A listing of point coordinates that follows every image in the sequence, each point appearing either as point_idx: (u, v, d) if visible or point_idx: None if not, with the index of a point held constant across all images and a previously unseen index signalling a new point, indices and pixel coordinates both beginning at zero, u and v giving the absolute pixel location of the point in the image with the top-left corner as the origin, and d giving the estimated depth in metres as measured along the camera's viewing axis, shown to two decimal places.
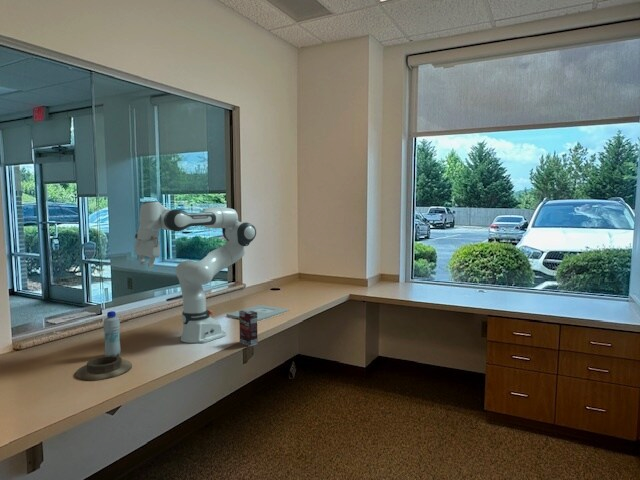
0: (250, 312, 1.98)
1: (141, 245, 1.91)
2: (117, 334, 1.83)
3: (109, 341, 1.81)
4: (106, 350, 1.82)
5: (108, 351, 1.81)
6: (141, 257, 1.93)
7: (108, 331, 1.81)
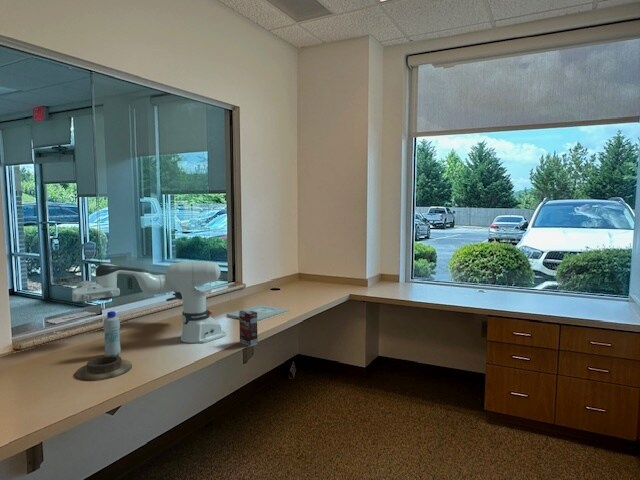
0: (250, 312, 1.98)
1: (87, 291, 1.97)
2: (117, 334, 1.83)
3: (109, 341, 1.81)
4: (106, 350, 1.82)
5: (108, 351, 1.81)
6: None
7: (108, 331, 1.81)
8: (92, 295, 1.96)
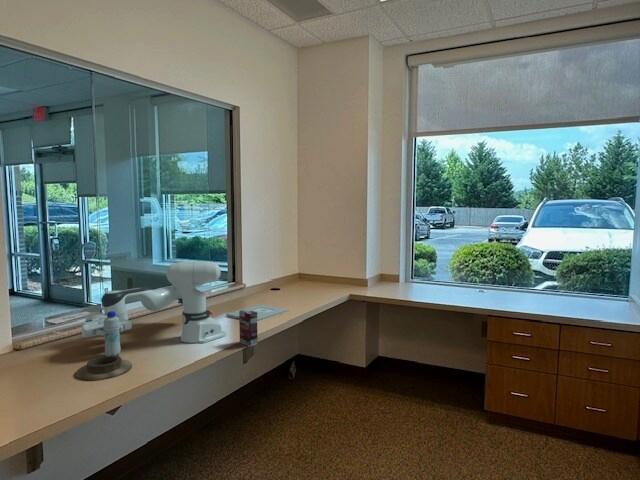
0: (250, 312, 1.98)
1: (97, 325, 1.87)
2: (117, 334, 1.83)
3: (109, 341, 1.81)
4: (106, 350, 1.82)
5: (108, 351, 1.81)
6: None
7: (108, 331, 1.81)
8: (103, 330, 1.86)
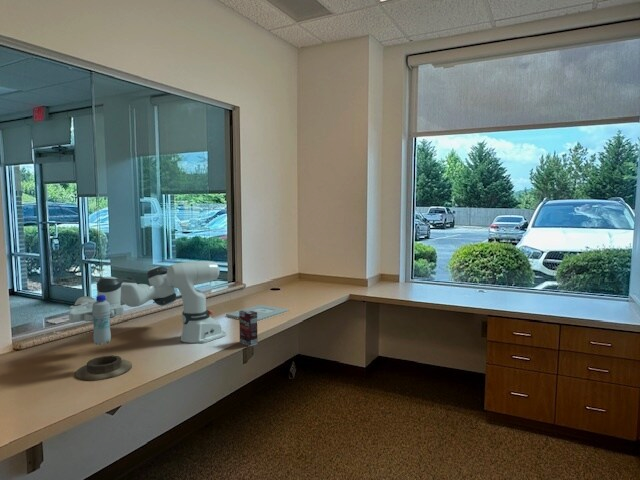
0: (250, 312, 1.98)
1: (86, 310, 1.71)
2: (107, 320, 1.67)
3: (99, 328, 1.65)
4: (95, 337, 1.65)
5: (97, 339, 1.65)
6: None
7: (96, 317, 1.65)
8: (92, 315, 1.69)
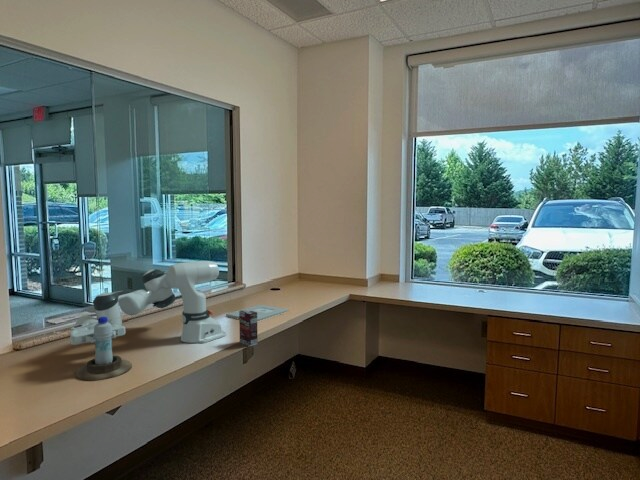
0: (250, 312, 1.98)
1: (87, 331, 1.70)
2: (108, 342, 1.66)
3: (100, 350, 1.64)
4: (97, 359, 1.65)
5: (98, 361, 1.64)
6: None
7: (98, 339, 1.64)
8: None
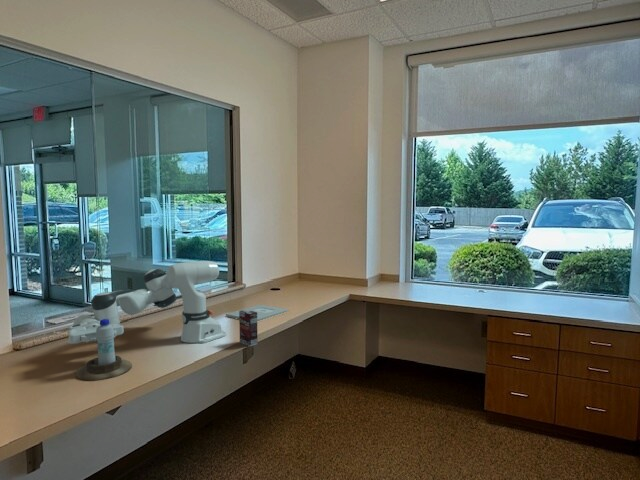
0: (250, 312, 1.98)
1: (86, 330, 1.71)
2: (111, 344, 1.66)
3: (103, 352, 1.65)
4: (99, 362, 1.65)
5: (101, 363, 1.65)
6: None
7: (101, 341, 1.64)
8: (92, 335, 1.70)
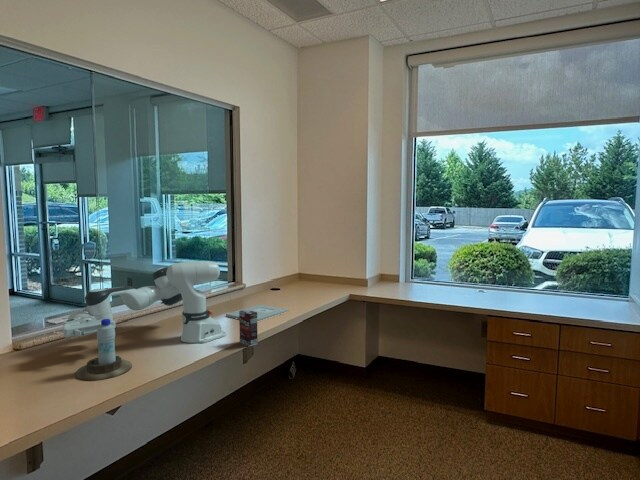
0: (250, 312, 1.98)
1: (79, 325, 1.79)
2: (112, 344, 1.66)
3: (104, 352, 1.65)
4: (100, 362, 1.65)
5: (102, 363, 1.65)
6: None
7: (101, 341, 1.64)
8: (85, 329, 1.78)
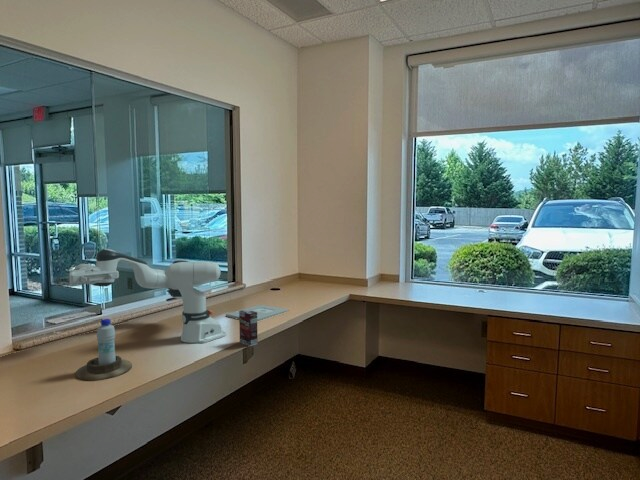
0: (250, 312, 1.98)
1: (85, 273, 1.91)
2: (111, 344, 1.66)
3: (104, 352, 1.65)
4: (100, 362, 1.65)
5: (102, 363, 1.65)
6: None
7: (101, 341, 1.64)
8: (90, 277, 1.89)
